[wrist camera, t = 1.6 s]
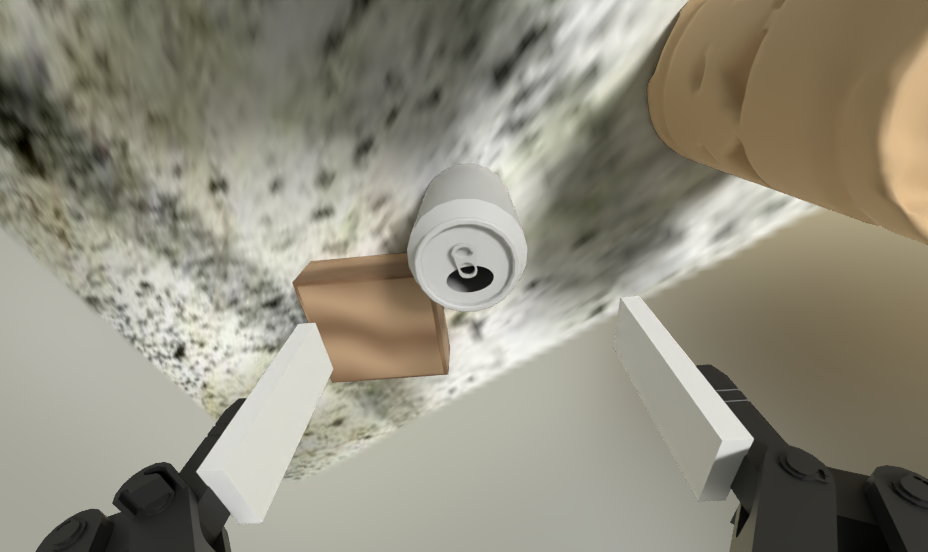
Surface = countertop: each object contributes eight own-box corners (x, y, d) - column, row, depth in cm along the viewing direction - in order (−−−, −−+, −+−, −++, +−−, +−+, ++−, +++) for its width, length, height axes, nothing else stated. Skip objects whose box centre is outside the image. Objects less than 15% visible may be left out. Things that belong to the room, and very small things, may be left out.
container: (631, 164, 29) (828, 266, 13) (667, -34, 23) (1118, -288, 7) (787, 156, 28) (1183, 252, 13) (867, -48, 22) (1824, -350, 7)
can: (434, 250, 33) (419, 330, 22) (415, 169, 29) (386, 220, 19) (514, 237, 32) (537, 313, 22) (504, 153, 28) (526, 196, 18)
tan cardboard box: (310, 261, 33) (291, 284, 30) (434, 250, 33) (430, 271, 29) (344, 355, 39) (331, 384, 36) (450, 347, 39) (448, 376, 35)
